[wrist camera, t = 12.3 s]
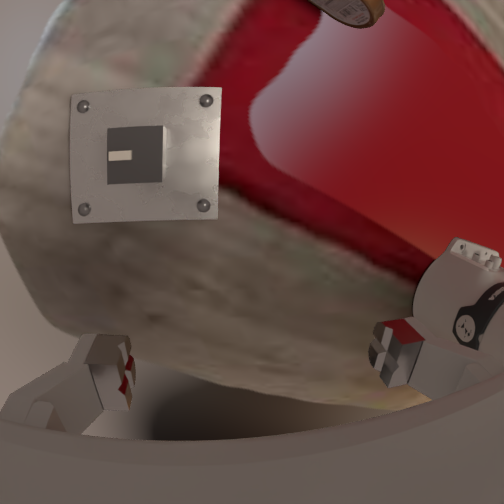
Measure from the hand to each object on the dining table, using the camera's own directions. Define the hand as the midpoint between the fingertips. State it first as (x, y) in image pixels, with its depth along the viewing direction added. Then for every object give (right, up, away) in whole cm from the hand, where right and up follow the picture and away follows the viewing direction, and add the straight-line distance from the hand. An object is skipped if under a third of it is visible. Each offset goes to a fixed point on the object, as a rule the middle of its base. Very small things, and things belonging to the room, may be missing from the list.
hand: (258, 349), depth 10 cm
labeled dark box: (-11, +13, +20) cm, 27 cm away
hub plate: (-12, +13, +22) cm, 28 cm away
